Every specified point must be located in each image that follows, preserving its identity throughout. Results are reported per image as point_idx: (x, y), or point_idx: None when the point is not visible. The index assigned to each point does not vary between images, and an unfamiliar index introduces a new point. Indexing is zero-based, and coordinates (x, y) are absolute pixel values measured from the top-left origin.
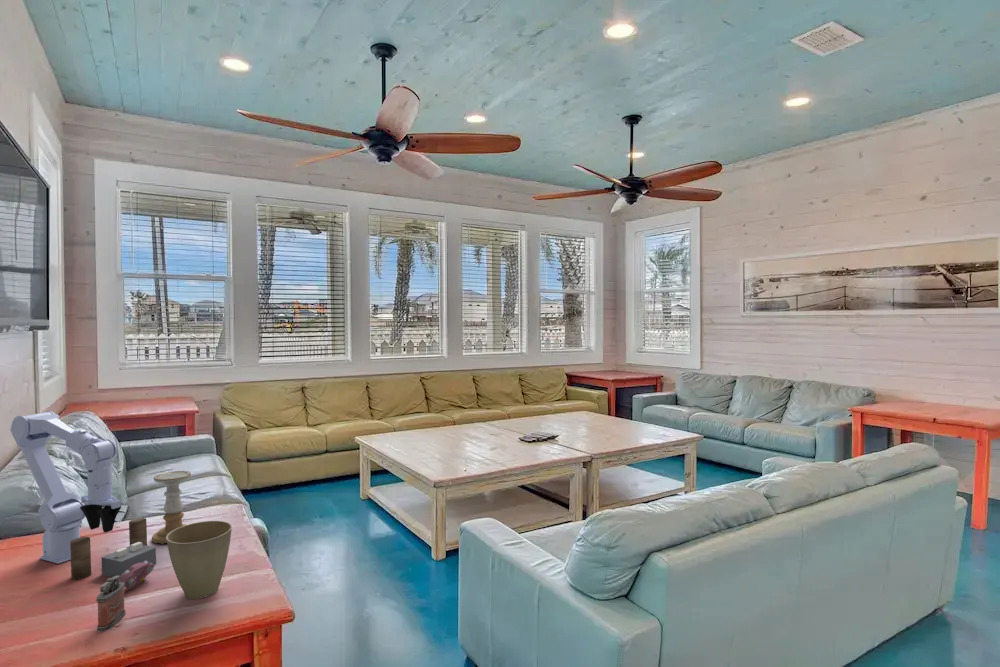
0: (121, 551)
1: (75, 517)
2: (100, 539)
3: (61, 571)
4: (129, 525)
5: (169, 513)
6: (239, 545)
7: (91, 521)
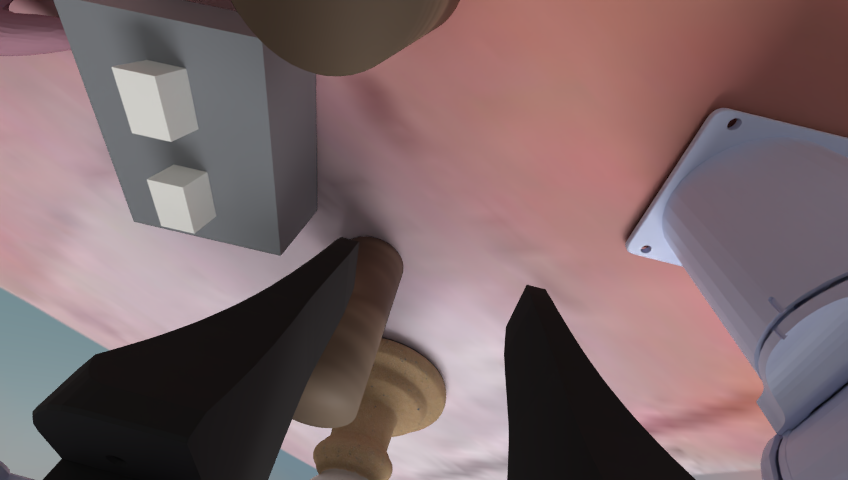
0: (121, 86)
1: (837, 435)
2: (672, 370)
3: (613, 11)
4: (330, 359)
5: (334, 472)
6: (112, 330)
7: (538, 347)
